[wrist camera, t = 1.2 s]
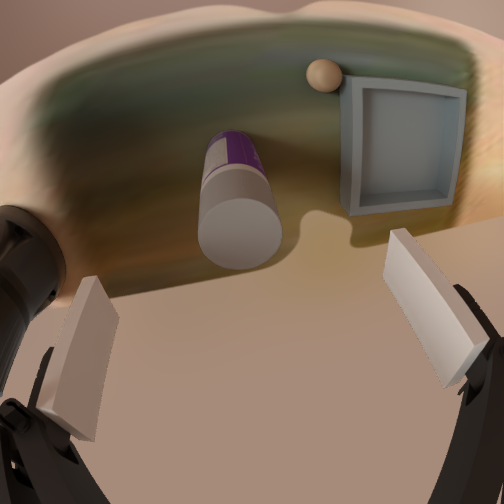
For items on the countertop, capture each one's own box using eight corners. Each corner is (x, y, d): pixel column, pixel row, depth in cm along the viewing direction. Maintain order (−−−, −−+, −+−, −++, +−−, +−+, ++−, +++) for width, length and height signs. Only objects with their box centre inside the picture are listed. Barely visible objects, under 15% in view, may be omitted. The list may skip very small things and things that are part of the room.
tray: (339, 203, 32) (349, 216, 30) (338, 74, 24) (351, 76, 21) (438, 193, 32) (452, 205, 30) (449, 85, 24) (466, 90, 22)
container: (265, 151, 28) (303, 232, 16) (232, 184, 30) (243, 285, 18) (229, 119, 26) (237, 177, 14) (196, 155, 28) (177, 241, 16)
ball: (303, 91, 25) (313, 94, 22) (300, 59, 23) (310, 58, 20) (335, 90, 25) (348, 94, 22) (333, 59, 23) (346, 59, 20)
